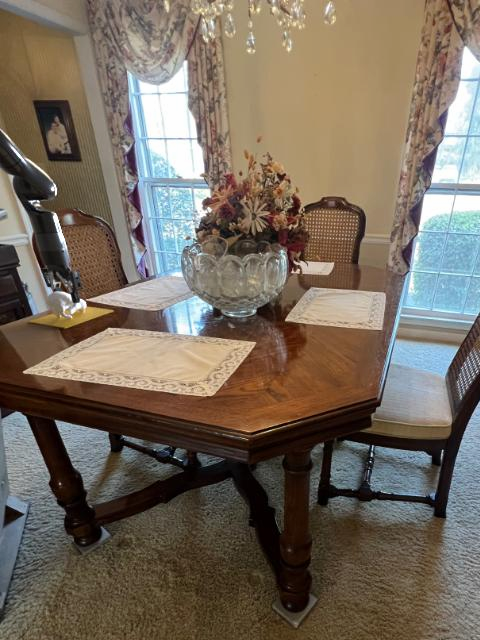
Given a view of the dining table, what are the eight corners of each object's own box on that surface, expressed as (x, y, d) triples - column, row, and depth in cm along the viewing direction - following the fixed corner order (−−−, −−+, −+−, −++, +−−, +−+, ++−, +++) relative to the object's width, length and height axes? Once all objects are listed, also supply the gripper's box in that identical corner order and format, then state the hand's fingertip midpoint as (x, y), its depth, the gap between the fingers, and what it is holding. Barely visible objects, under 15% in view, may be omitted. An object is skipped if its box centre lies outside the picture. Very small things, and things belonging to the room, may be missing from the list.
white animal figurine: (42, 292, 119) (74, 287, 129) (48, 319, 123) (79, 312, 133) (57, 293, 117) (88, 289, 128) (63, 321, 121) (93, 314, 131)
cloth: (65, 328, 117) (64, 327, 117) (28, 322, 122) (27, 321, 122) (114, 311, 133) (113, 310, 133) (80, 306, 138) (79, 305, 138)
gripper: (24, 248, 116) (42, 302, 124) (59, 251, 111) (75, 307, 120) (46, 245, 122) (62, 297, 130) (80, 247, 117) (94, 301, 126)
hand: (68, 301), depth 125 cm, fingers open, 6 cm apart
